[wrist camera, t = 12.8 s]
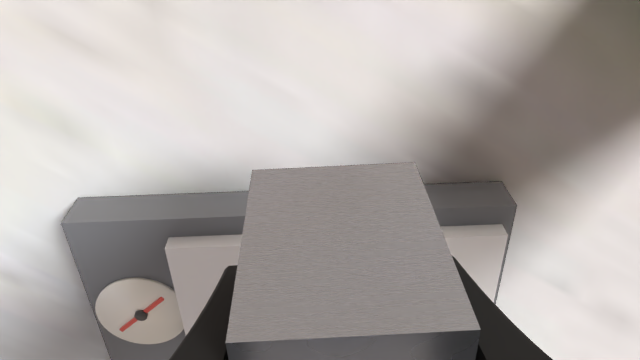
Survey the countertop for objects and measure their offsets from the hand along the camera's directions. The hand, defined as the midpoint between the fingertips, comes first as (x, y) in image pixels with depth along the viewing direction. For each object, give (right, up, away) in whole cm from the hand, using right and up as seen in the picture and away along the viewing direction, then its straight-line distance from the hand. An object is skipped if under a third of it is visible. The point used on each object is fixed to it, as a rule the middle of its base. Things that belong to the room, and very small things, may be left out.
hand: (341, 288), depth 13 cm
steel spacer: (0, +1, +2) cm, 2 cm away
